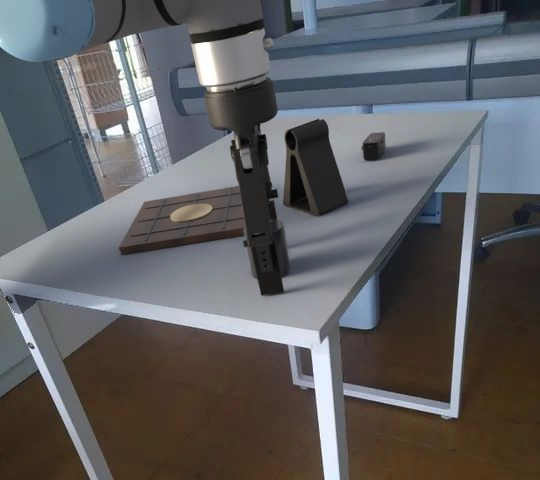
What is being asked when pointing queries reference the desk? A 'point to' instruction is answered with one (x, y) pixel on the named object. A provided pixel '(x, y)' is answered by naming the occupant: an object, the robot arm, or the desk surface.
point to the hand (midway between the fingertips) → (272, 269)
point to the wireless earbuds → (373, 146)
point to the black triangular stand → (312, 170)
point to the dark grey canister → (281, 247)
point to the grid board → (186, 220)
